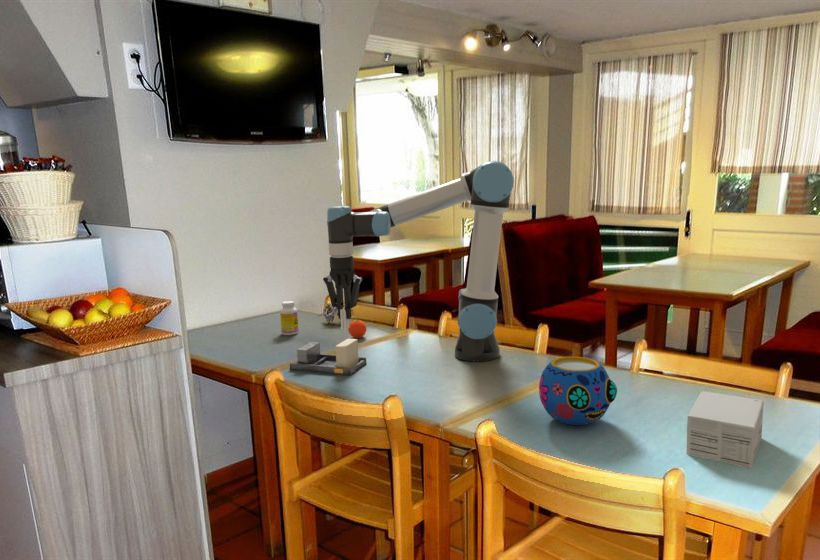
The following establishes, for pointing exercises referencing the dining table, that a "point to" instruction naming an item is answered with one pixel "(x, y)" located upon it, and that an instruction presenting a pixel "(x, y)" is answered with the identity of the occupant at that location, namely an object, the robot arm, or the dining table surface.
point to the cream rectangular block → (347, 353)
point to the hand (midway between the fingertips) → (345, 328)
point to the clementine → (357, 328)
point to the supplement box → (725, 428)
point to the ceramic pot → (576, 390)
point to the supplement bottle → (289, 318)
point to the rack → (321, 361)
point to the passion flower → (331, 313)
